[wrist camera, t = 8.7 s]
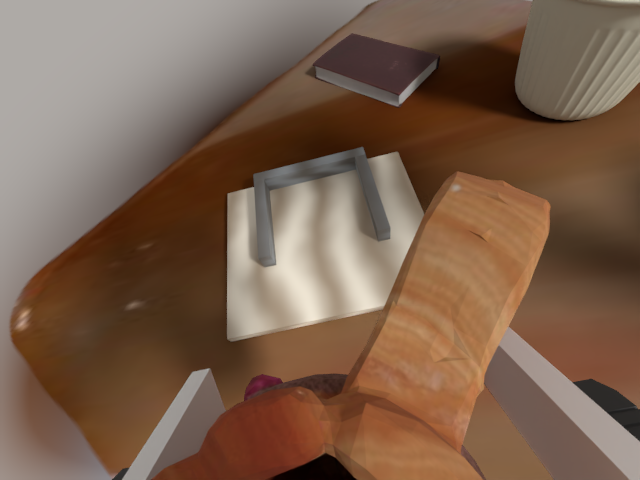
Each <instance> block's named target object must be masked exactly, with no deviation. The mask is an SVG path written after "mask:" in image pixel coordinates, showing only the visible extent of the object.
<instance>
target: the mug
mask: <svg viewBox="0 0 640 480" xmlns="http://www.w3.org/2000/svg"><path fill="white" fill-rule="evenodd" d="M550 207H551V205H550V204H549V203H548V201H547V200H545V199H543V198H540V197H538V196H535V195H532V194H530V193H527V192H525V191H522V190H520V189H517V188H515V187H513V186H511V185H509V184H508V183H506V182H504V181H503V180H487V179H484V178H481V177H478V176H474V175H470V174H466V173H462V172H458V171H457V172H456V173H454V174H453V175H451V176H450V177H448V178H447V179H446V181H445V182H444V183H443V185H442V186H441V187H440V189H439V190H438V192H437V193H436V194H435V196H434V198H433V200H432V201H431V203H430V205H429V207H428V209H427V210H426V212H425V214H424V216H423V218H422V221H421V223H420V225H419V227H418V230H417V232H416V234H415V236H414V239H413V241H412V243H411V245H410V247H409V250H408V252H407V254H406V256H405V259H404V261H403V263H402V266H401V268H400V271H399V273H398V275H397V278H396V280H395V283H394V285H393V287H392V290H391V292H390V294H389V297H388V299H387V301H386V304H385V306H384V308H383V310H382V313H381V315H380V317H379V319H378V321H377V323H376V326H375V328H374V330H373V332H372V334H371V336H370V338H369V341H368V343H367V345H366V346H365V348H364V350H363V351H362V353H361V355H360V356H359V358H358V360H357V361H356V363H355V365H354V366H353V368H352V370H351V371H350V373H349V375H344V374H319V375H312V376H308V377H304V378H300V379H296V380H293V381H289V382H285V383H283V382H282V381H281V379H280V378H276V377H272V376H267V375H263V374H261V375H259V376H256V377H254V378H252V380H251V381H250V383H249V385H248V386H247V388H246V391H245V395H244V402H241V403H239V404H237V405H235V406H234V407H232V408H230V409H229V410H227V411H226V412H224V413H223V414H221V415H220V416H219V417H218V419H217V420H216V421H215V422H214V424H213V425H212V426H211V427H210V429H209V430H208V432H207V434H206V437H205V439H204V441H203V443H202V445H201V447H200V450H199V451H198V453H196V454H194V455H191V456H189V457H187V458H185V459H183V460H181V461H179V462H177V463H174V464H172V465H170V466H168V467H166V468H164V469H163V470H162V471H160V472H159V473H158V474H157V475H156V476H155V477H153V478H152V479H151V480H486V479H485V477H484V475H483V474H482V472H481V470H480V468H479V467H478V465H477V463H476V462H475V460H474V459H473V458H472V456H471V455H470V454H469V452H468V451H467V450H466V449H465V447H464V446H463V445H462V443H463V440H464V437H465V434H466V430H467V427H468V424H469V420H470V417H471V414H472V411H473V407H474V404H475V401H476V398H477V396H478V395H479V394H480V393H481V391H482V390H483V389H484V375H485V373H486V370H487V367H488V365H489V363H490V361H491V359H492V357H493V355H494V353H495V351H496V349H497V347H498V345H499V344H500V342H501V340H502V338H503V336H504V334H505V332H506V330H507V328H508V326H509V324H510V322H511V320H512V318H513V316H514V314H515V312H516V310H517V308H518V306H519V304H520V303H521V301H522V299H523V297H524V295H525V293H526V291H527V289H528V286H529V283H530V281H531V278H532V276H533V273H534V270H535V268H536V265H537V263H538V260H539V257H540V255H541V252H542V250H543V247H544V244H545V242H546V239H547V237H548V234H549V226H550V216H549V212H550Z"/></svg>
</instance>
